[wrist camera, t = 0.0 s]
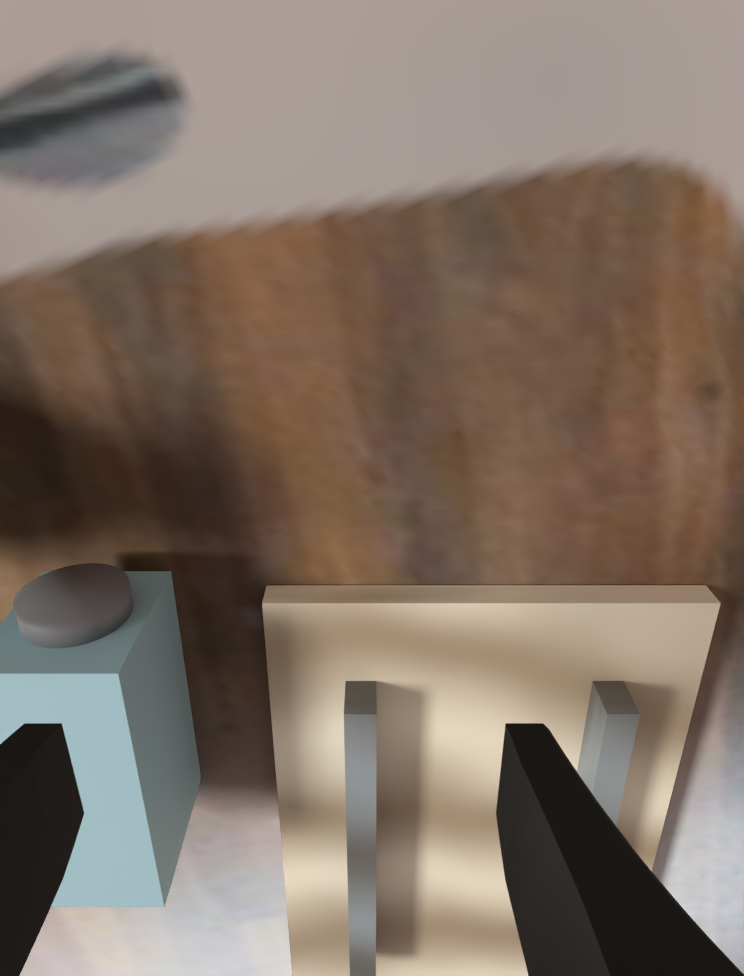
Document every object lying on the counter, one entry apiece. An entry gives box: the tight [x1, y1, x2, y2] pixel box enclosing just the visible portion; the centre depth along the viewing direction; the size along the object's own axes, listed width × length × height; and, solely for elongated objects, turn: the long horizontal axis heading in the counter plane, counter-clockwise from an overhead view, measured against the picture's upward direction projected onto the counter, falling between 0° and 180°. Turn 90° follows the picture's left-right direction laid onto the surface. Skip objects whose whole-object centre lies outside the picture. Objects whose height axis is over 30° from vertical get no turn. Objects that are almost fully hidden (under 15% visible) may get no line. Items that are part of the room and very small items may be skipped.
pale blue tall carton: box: [0, 563, 201, 907], centre depth 21 cm, size 10×4×5 cm, turn 0°
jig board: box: [262, 585, 721, 976], centre depth 25 cm, size 20×14×2 cm
